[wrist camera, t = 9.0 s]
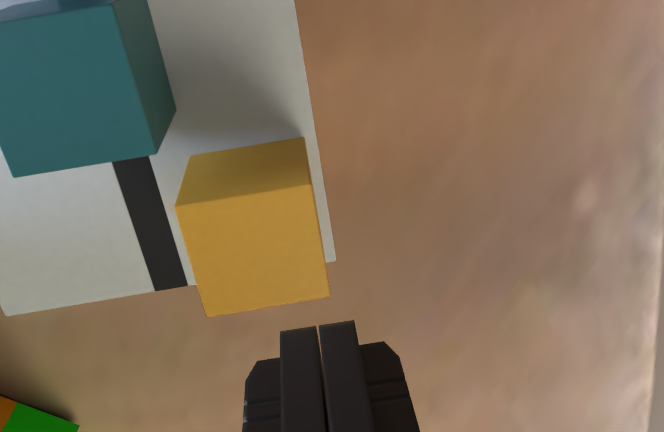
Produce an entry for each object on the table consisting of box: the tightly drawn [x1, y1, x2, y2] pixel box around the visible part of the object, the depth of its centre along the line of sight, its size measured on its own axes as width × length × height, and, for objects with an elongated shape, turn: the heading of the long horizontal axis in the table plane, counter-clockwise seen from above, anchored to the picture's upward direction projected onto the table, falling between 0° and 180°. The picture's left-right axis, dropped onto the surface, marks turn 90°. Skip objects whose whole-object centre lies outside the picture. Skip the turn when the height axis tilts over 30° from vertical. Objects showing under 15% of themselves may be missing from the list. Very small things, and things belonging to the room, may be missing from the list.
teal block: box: [0, 0, 177, 178], centre depth 22 cm, size 5×5×5 cm
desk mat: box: [0, 0, 336, 316], centre depth 24 cm, size 21×16×1 cm
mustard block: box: [174, 137, 331, 317], centre depth 25 cm, size 5×5×5 cm
